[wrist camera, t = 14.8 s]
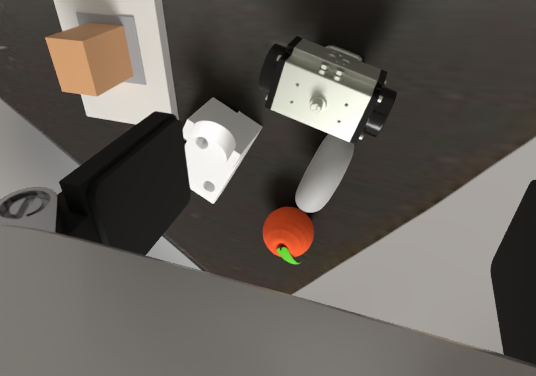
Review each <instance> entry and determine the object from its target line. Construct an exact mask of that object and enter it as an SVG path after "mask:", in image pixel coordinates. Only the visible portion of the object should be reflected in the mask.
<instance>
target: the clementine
mask: <svg viewBox="0 0 536 376" xmlns="http://www.w3.org/2000/svg"><path fill="white" fill-rule="evenodd" d="M313 236H314V228H313V224H312V222H311V219H310V218H309V217H308V215H307V214H306V213H304V212H303V211H302V210H300V209H298V208H295V207H281V208H279V209H277V210H275V211H273V212H272V213H271V214H270V215H269V216H268V217H267V219H266V221H265V223H264V226H263V238H264V241H265V243H266V245H267V247H268V248H269V250H270V251H271V252H273V253H274V254H276V255H277V256H280V257H282V258H283V259H284V260H286V261H287V262H289V263H292V264H300V263H301V262H302V261H301V262H300V263H297V262H296V261H295V260H294V259H293V257H297V256H300V255H301V254H303V253H304V252H305V251H306V250H308V248H309V246H310V245H311V243H312V241H313Z"/></svg>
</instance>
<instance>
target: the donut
mask: <svg viewBox="0 0 536 376" xmlns="http://www.w3.org/2000/svg"><path fill="white" fill-rule="evenodd" d="M353 151H354V144H352V143H350V142H347V141H345V140H343V139H340V138H338V137H335V136H333V135H331V134H328V135H327V136H326V137H325V139H324V140H323V142H322V143H321V145H320V146H319V148H318V150H317V151H316V153H315V155H314V157H313V158H312V160H311V162H310V164H309V166H308V168H307V170H306V172H305V174H304V176H303V178H302V180H301V182H300V184H299V186H298V189H297V191H296V195H295V201H296V204H297V206H298V207H299V208H300V209H301V210H302V211H305V212H311V213H312V212H316V211H319V210H320V209H322V208H323V207H324V206H325V205H326V203H327V202H328V201H329V199H330V198H331V196H332V195H333V193H334V191H335V190H336V188H337V187H338V185H339V183H340V181H341V179H342V178H343V176H344V174H345V172H346V170H347V167H348V165H349V163H350V161H351V158H352V155H353Z"/></svg>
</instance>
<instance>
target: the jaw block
mask: <svg viewBox="0 0 536 376" xmlns="http://www.w3.org/2000/svg"><path fill="white" fill-rule="evenodd" d="M45 38H46V42H47V45H48V48H49V51H50V54H51V57H52V61H53V64H54V67H55V70H56V73H57V76H58V80H59V83H60V86H61V89H62V91H63V92H70V93H76V94H83V95H90V96H96V97H97V96H99V95H101V94H103V93H104V92H106V91H108V90H110V89H111V88H113V87H115V86H117V85H118V84H120V83H122V82H124V81H126V80H127V79H129V78H131V77H133V76H134V75H133V71H132V66H131V61H130V56H129V51H128V46H127V41H126V36H125V31H124V26H123V25H112V24H101V23H90V22H89V23H86V24H83V25H80V26H77V27H74V28H71V29H68V30H65V31H62V32H59V33H56V34H54V35H51V36H48V37H45Z"/></svg>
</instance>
